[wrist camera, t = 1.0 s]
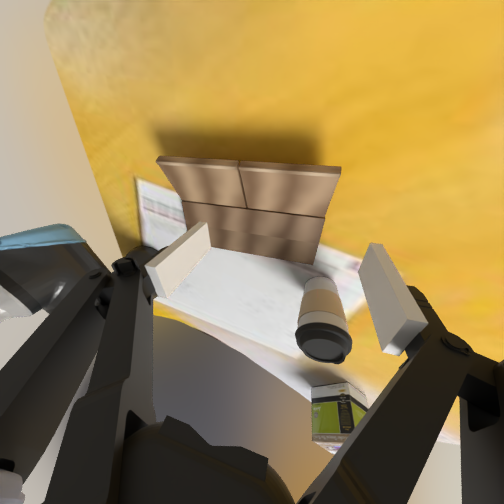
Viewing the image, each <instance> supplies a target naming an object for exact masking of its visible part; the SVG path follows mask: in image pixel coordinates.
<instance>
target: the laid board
mask: <svg viewBox="0 0 504 504" xmlns="http://www.w3.org/2000/svg"><path fill="white" fill-rule="evenodd" d="M182 206H183V211H184V215H185V220H186V225H187V230H190V229H191V228H192V227H193V226H195V225H196V224H197V223H198V222H207V225H208V231H209V237H210V244H211V247H215V248H221V249H226V250H232V251H237V252H243V253H249V254H254V255H260V256H266V257H271V258H277V259H283V260H288V261H294V262H300V263H305V264H311V265H313V263H314V259H315V255H316V252H317V248H318V244H319V240H320V237H321V233H322V229H323V225H324V221H325V217H318V216H310V215H302V214H293V213H285V212H277V211H268V210H260V209H252V208H248V207H246V208H243V207H235V206H227V205H218V204H210V203H202V202H193V201H185V200H183V201H182Z"/></svg>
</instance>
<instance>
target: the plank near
mask: <svg viewBox="0 0 504 504" xmlns="http://www.w3.org/2000/svg"><path fill="white" fill-rule="evenodd" d="M239 170H240V174H241V178H242V183H243V187H244V192H245V197H246V201H247V206H248V208H252V209H260V210H268V211H277V212H285V213H293V214H302V215H310V216H318V217H325V214H326V211H327V209H328V206H329V203H330V201H331V198H332V196H333V193H334V190H335V188H336V185H337V182H338V180H339V178H340V175H341V167H337V166H321V165H304V164H288V163H271V162H255V161H241V162H240V165H239Z"/></svg>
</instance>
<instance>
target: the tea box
mask: <svg viewBox="0 0 504 504" xmlns="http://www.w3.org/2000/svg"><path fill="white" fill-rule="evenodd" d="M311 398H312V441H313V442H315V443H316V444H318V445H319V446H321V447H323V448H324V449H326V450H327V451H329V452H331V453H332V454H334V455H335V454H336V452H337V451H338V450H339V448H340V447H341V446H342V444H343V443H344V442H345V440H346V439H347V438H348V436H349V435H350V434H351V432H352V431H353V430H354V428H355V427H356V426H357V424H358V423H359V422H360V420H361V419H362V418H363V416H364V415H365V414H366V412H367V411H368V410H369V406H368V402H367V398H366V396H365V395H364V394H362V393H361V392H360V391H359V390H357V389H356V388H355V387H353V386H352V385H351V384H350V383H348V382H346V383H340V384H333V385H326V386H319V387H312V388H311Z"/></svg>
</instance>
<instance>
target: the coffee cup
mask: <svg viewBox="0 0 504 504" xmlns="http://www.w3.org/2000/svg"><path fill="white" fill-rule="evenodd" d="M295 337H296V341H297V345H298V346H299V348H300V349H301V350H302V351H303V352H304V354H305V355H306V356H307V357H309V358H311V359H313V360H315V361H318V362H323V363H334V364H340V363H342V362H343V361H344V360H345V357H346V355H348V354H349V353H350V351H351V349H352V339H351V337H350V335H349V332H348V325H347V321H346V317H345V314H344V310H343V307H342V303H341V299H340V298H339V294H338V290H337V286H336V284H335V283H334V282H333V281H332V280H331V279H329V278H326V277H314V278H312V279H310V280H308V281H307V283H306V284H305V289H304V294H303V298H302V302H301V307H300V312H299V317H298V329H297V330H296V333H295Z"/></svg>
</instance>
